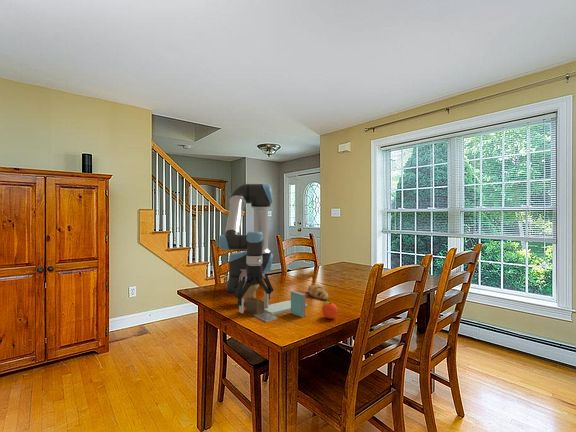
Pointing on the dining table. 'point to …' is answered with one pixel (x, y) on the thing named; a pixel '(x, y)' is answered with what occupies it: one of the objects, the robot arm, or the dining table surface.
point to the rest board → (279, 307)
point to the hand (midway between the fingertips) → (254, 309)
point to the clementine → (329, 310)
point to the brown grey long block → (258, 309)
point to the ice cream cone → (252, 289)
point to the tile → (298, 303)
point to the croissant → (318, 291)
